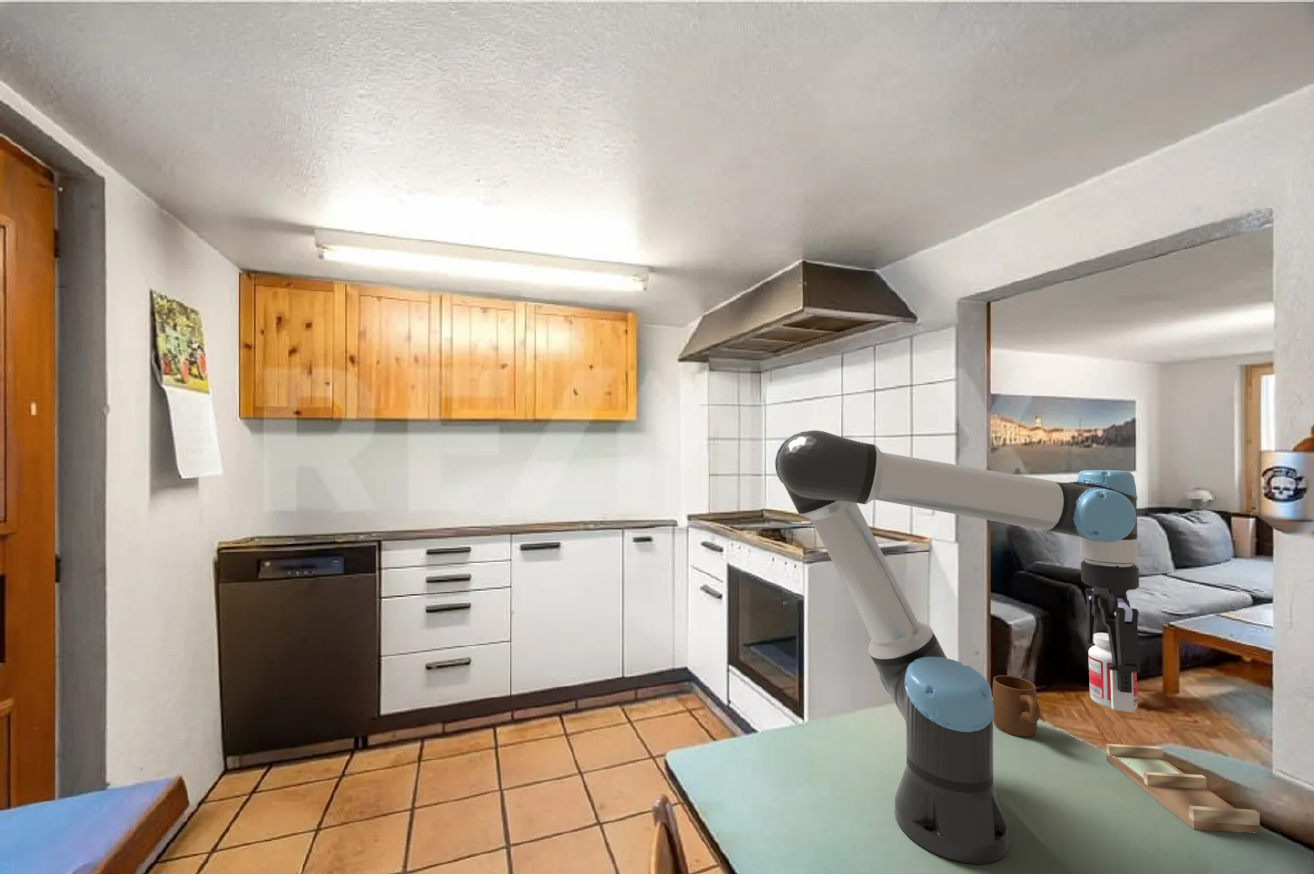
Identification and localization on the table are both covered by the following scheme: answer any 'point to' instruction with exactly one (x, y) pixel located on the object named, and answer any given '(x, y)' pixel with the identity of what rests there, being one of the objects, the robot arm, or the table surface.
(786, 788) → the table surface
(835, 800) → the table surface
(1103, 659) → the pill bottle
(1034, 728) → the mug
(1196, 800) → the notch board
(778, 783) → the table surface
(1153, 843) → the table surface
